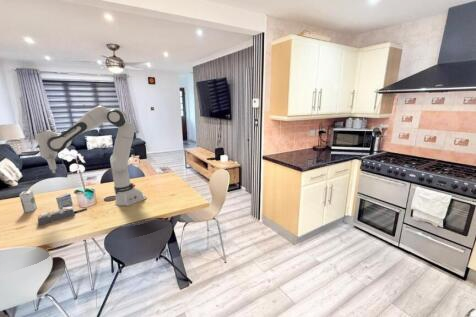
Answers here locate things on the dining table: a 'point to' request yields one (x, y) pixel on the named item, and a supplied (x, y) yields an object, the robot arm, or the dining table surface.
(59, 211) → the rocker
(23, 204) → the syrup box
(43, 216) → the rocker
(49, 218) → the power strip
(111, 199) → the dining table surface
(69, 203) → the medicine box
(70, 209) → the rocker
